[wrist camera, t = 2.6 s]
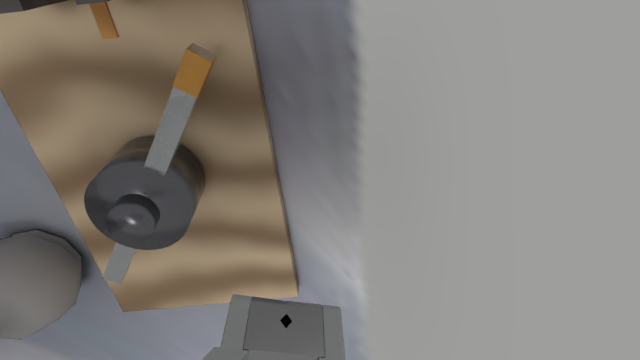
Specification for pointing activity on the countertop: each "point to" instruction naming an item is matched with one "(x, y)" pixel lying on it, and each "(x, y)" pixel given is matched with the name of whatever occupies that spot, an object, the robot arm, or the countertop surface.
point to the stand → (143, 120)
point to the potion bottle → (36, 281)
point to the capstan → (152, 177)
